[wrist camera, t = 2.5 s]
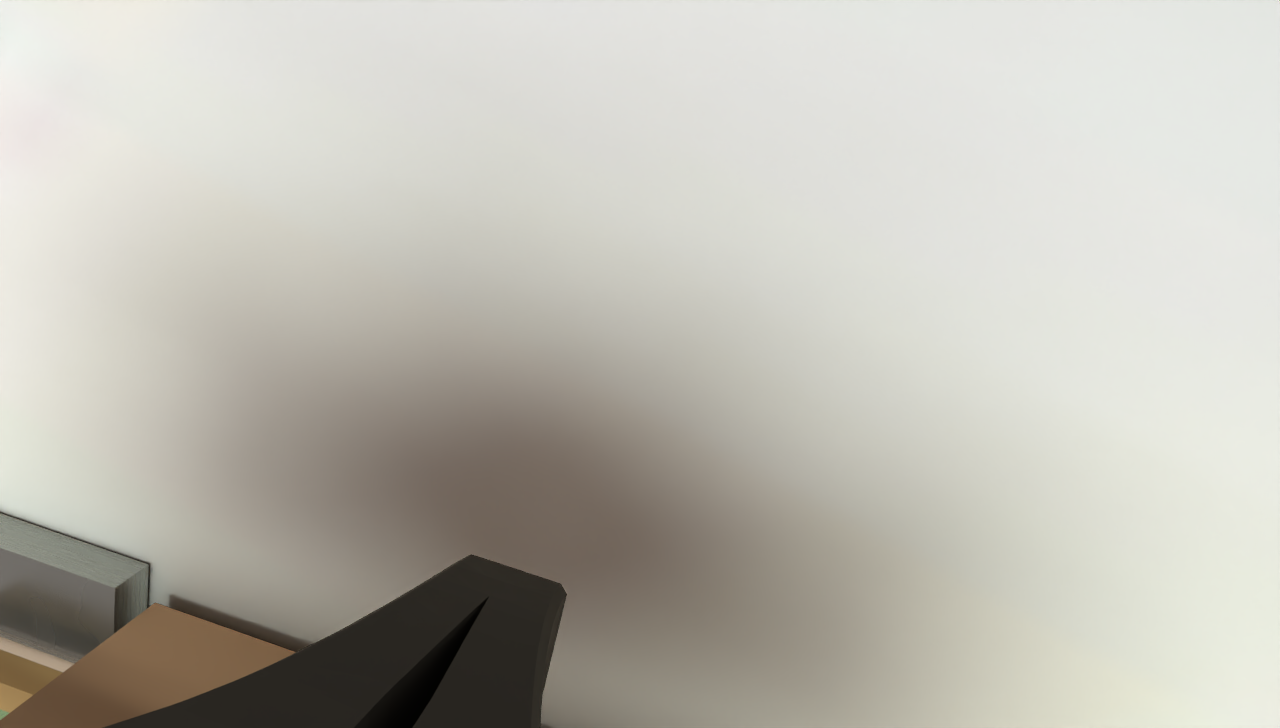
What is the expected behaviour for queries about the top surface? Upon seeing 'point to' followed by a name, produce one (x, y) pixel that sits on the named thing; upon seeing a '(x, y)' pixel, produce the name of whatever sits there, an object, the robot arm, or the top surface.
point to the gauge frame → (62, 594)
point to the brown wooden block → (131, 672)
